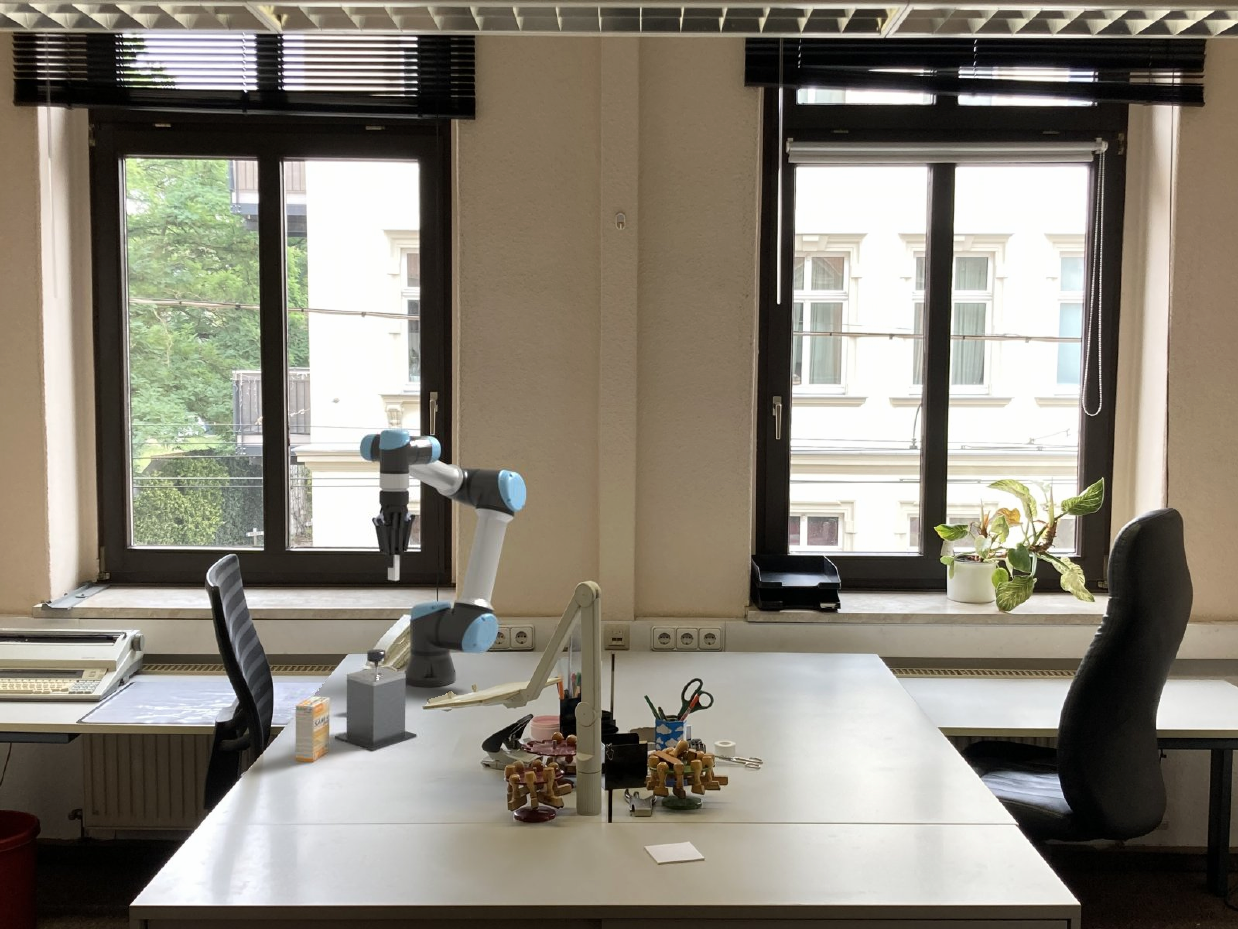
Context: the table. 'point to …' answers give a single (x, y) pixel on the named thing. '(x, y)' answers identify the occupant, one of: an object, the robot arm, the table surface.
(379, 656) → the plunger
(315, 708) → the supplement box
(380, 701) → the block
